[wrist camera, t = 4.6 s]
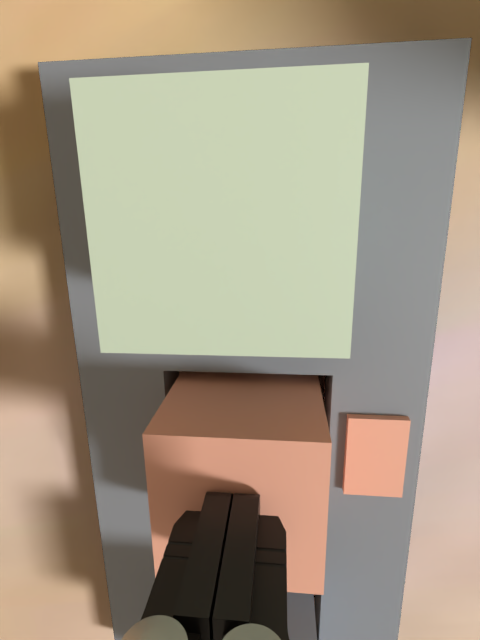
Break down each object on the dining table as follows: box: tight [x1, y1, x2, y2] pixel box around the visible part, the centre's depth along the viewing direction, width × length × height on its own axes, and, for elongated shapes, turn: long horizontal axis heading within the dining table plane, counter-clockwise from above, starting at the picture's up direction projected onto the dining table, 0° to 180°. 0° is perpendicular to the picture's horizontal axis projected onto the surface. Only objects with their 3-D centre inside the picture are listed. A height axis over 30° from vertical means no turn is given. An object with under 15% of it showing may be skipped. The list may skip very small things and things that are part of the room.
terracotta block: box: [142, 371, 332, 595], centre depth 14 cm, size 5×5×5 cm
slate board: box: [38, 38, 472, 640], centre depth 15 cm, size 25×12×2 cm, turn 1°
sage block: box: [69, 63, 369, 359], centre depth 10 cm, size 5×5×5 cm
